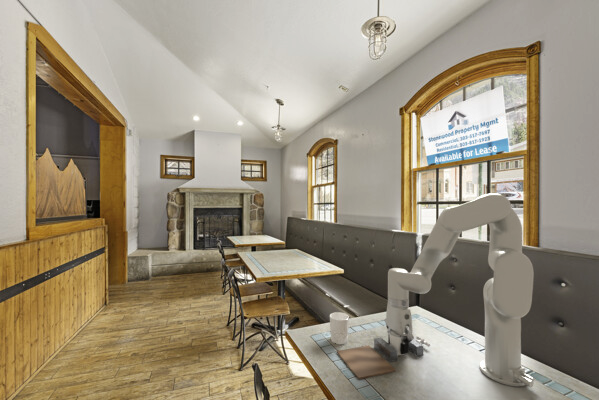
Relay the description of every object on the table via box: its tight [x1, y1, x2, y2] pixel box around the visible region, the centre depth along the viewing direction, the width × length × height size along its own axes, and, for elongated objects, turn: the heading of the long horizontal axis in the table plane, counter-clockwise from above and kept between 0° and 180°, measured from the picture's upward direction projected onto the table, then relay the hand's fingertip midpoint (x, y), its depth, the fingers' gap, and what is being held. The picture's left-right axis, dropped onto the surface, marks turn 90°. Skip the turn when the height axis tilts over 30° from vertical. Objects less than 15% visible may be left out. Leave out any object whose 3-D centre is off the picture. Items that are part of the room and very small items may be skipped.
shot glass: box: [389, 329, 406, 356], centre depth 102 cm, size 7×7×7 cm
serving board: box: [336, 344, 396, 380], centre depth 95 cm, size 16×14×1 cm
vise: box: [373, 336, 431, 363], centre depth 102 cm, size 10×20×4 cm, turn 108°
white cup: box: [329, 311, 350, 345], centre depth 109 cm, size 8×8×10 cm
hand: (398, 348), depth 102 cm, fingers closed on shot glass, 6 cm apart
